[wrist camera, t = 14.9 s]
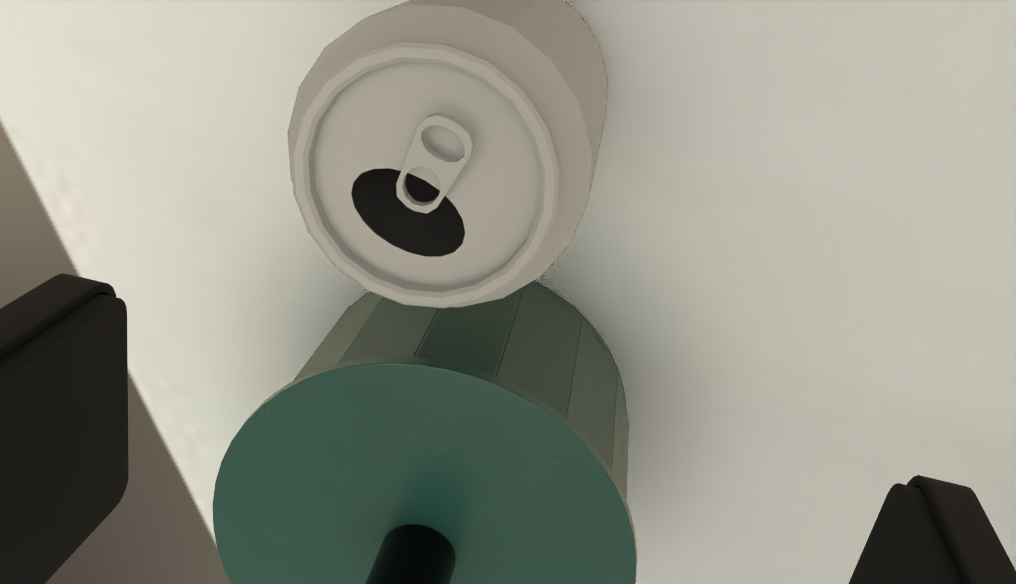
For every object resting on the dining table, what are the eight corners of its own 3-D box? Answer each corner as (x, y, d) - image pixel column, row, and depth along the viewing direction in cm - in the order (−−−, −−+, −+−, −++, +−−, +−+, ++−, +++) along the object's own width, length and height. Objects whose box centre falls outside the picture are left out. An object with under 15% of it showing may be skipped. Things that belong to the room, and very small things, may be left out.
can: (361, 124, 32) (213, 237, 21) (454, -72, 29) (338, -59, 18) (540, 228, 33) (487, 389, 22) (651, 46, 30) (654, 128, 19)
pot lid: (235, 302, 27) (158, 376, 22) (685, 402, 26) (692, 499, 22) (219, 635, 32) (155, 744, 28) (587, 726, 31) (578, 852, 27)
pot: (334, 233, 34) (242, 329, 26) (659, 303, 33) (664, 424, 25) (309, 496, 39) (226, 641, 31) (589, 562, 38) (575, 727, 31)
